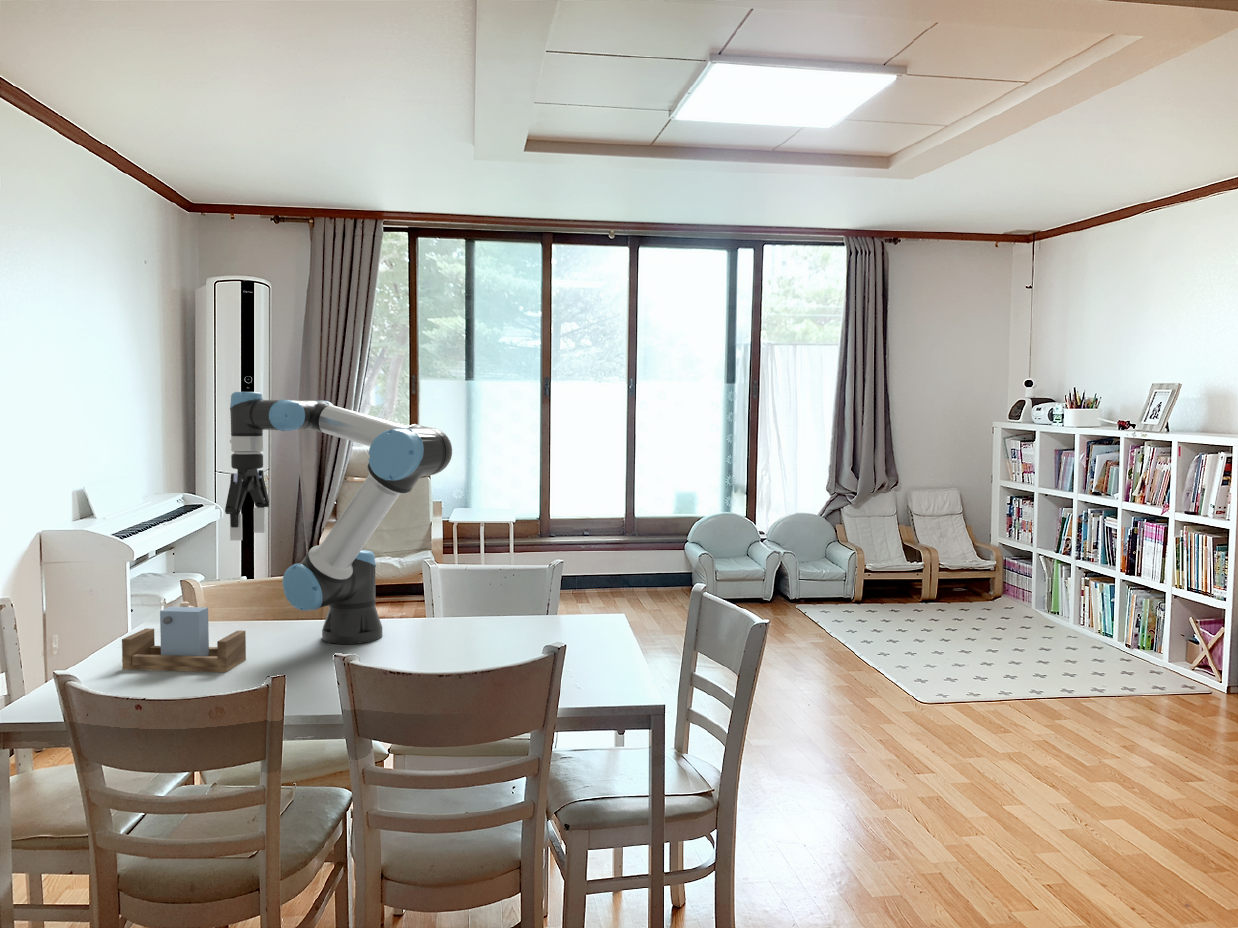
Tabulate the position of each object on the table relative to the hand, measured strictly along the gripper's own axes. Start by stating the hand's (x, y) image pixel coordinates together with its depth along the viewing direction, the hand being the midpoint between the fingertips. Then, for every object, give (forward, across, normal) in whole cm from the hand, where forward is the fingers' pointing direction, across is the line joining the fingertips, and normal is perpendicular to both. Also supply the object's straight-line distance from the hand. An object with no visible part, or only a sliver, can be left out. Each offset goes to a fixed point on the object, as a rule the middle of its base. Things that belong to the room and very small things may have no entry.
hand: (248, 536), depth 237 cm
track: (+27, +23, -5) cm, 36 cm away
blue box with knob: (+26, +23, -5) cm, 35 cm away
